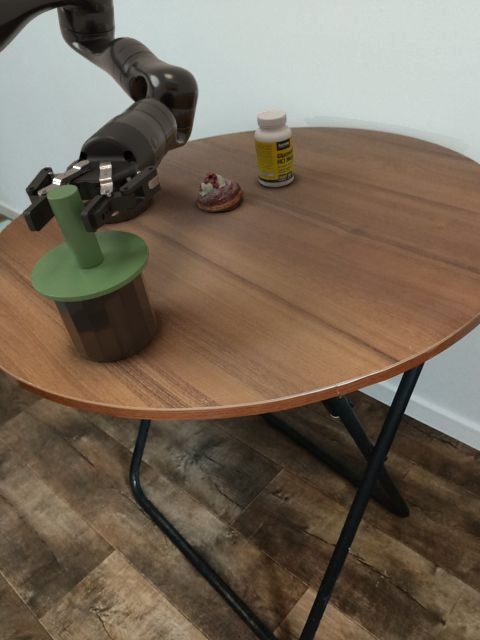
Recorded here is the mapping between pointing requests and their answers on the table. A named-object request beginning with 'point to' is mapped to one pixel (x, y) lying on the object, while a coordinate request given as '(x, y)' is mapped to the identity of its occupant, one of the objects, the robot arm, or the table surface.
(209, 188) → the pastry
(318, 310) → the table surface
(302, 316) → the table surface
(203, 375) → the table surface
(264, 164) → the pill bottle
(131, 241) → the lid
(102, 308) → the cup
